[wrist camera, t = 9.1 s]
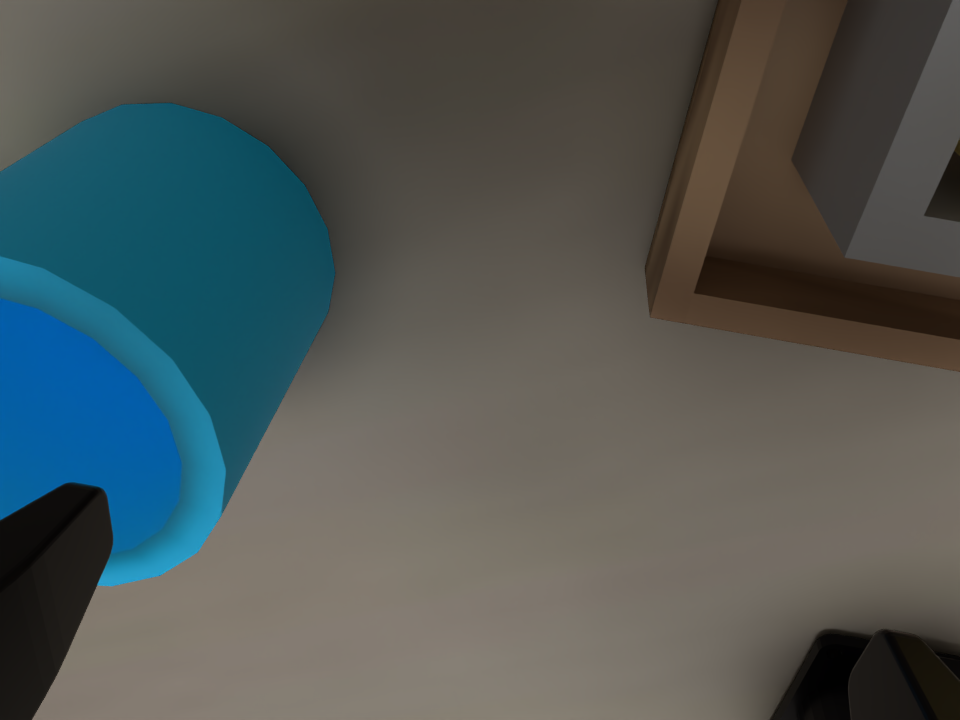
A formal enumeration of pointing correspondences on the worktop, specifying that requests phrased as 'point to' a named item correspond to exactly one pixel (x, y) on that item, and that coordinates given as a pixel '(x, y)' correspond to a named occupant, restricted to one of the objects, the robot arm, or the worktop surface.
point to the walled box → (778, 208)
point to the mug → (151, 319)
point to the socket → (889, 135)
